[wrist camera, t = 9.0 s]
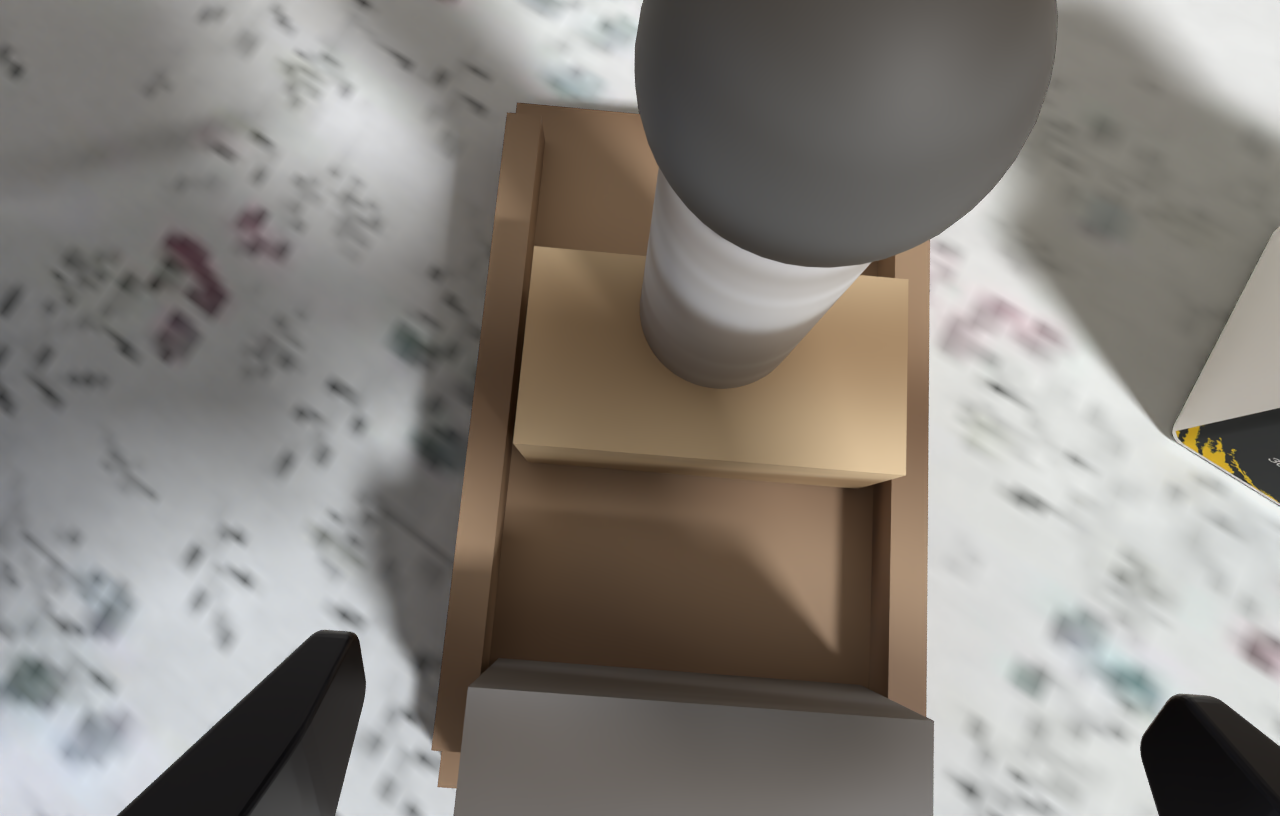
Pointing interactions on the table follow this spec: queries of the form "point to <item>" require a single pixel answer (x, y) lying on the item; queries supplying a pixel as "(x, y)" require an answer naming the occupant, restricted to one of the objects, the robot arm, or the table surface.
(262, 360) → the table surface
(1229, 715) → the robot arm
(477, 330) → the table surface
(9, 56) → the table surface
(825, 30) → the press handle
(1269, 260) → the medicine bottle
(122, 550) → the table surface
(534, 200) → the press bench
